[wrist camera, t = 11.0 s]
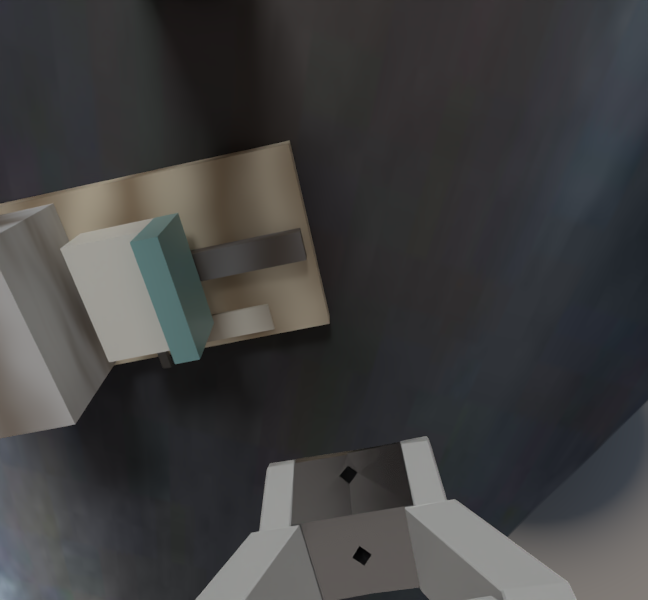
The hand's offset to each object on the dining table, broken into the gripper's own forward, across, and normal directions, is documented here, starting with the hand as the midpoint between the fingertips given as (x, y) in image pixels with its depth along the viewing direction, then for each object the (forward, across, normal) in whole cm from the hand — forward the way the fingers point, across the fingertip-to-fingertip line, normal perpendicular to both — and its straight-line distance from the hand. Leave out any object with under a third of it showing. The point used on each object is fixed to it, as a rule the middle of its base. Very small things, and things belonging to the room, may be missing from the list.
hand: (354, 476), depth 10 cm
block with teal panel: (+26, +13, +5) cm, 30 cm away
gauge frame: (+29, +13, +4) cm, 32 cm away
